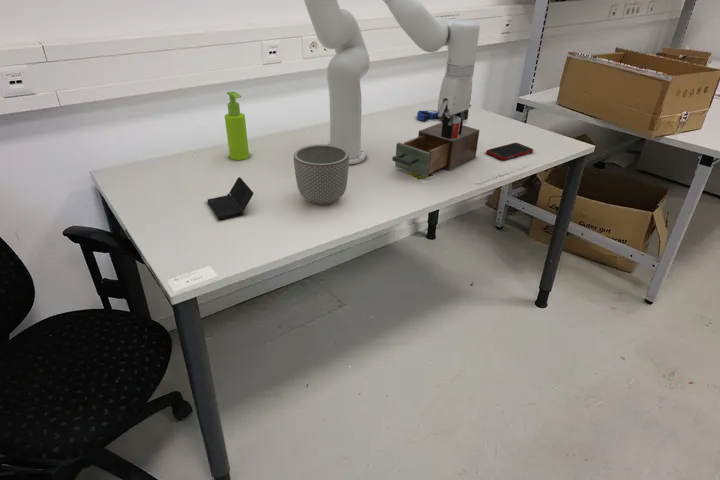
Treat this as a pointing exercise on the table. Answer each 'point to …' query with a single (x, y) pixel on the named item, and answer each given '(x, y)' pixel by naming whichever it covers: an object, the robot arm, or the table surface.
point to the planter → (321, 173)
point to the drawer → (422, 155)
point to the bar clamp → (428, 115)
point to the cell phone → (509, 151)
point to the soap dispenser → (236, 129)
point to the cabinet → (456, 144)
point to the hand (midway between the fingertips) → (451, 135)
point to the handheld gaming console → (232, 201)
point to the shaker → (455, 126)
